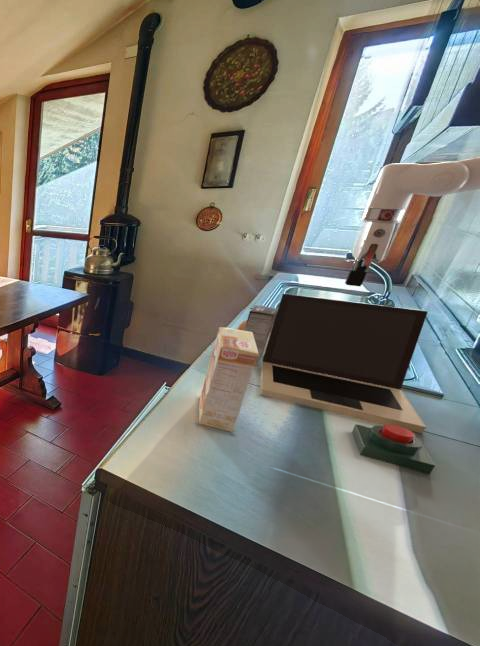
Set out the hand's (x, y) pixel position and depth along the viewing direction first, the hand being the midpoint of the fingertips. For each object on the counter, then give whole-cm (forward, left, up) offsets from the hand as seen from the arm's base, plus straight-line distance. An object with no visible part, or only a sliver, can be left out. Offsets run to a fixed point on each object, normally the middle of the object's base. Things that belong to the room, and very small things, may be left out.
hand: (352, 284), depth 109 cm
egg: (+20, -8, -26) cm, 33 cm away
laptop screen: (0, +7, -14) cm, 16 cm away
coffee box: (+18, +4, -26) cm, 31 cm away
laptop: (0, +21, -26) cm, 33 cm away
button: (-7, +45, -22) cm, 51 cm away
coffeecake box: (+24, +49, -26) cm, 60 cm away
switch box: (-7, +45, -26) cm, 52 cm away
